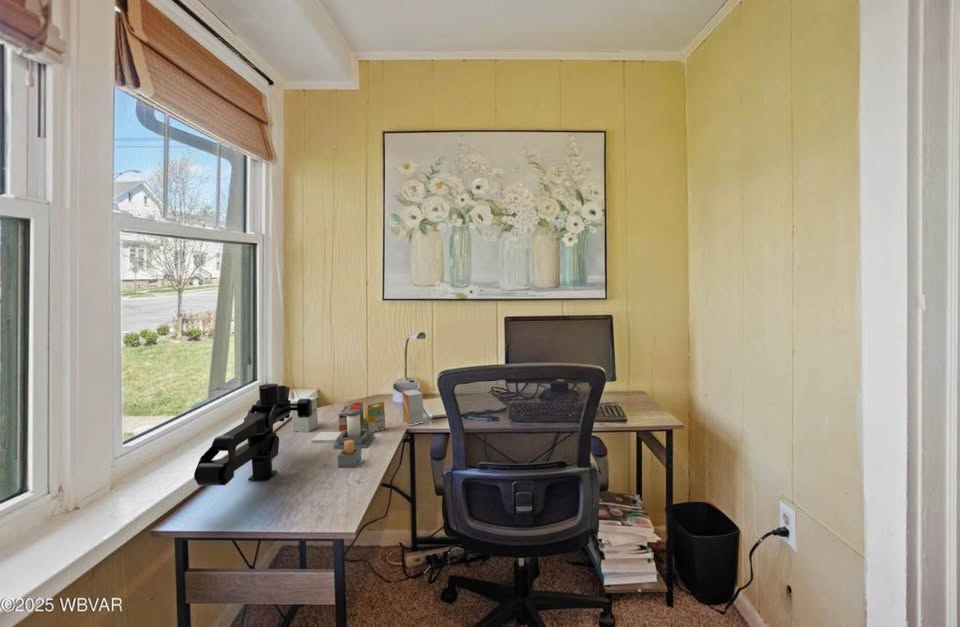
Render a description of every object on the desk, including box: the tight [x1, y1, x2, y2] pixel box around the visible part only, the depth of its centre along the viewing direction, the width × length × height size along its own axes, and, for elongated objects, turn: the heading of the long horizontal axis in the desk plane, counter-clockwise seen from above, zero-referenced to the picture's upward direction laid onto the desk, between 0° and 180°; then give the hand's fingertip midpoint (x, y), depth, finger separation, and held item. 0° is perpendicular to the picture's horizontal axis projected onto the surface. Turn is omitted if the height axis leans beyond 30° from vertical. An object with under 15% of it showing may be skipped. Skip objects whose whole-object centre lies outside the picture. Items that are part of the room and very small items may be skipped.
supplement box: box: [291, 396, 319, 433], centre depth 194 cm, size 7×7×13 cm
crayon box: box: [364, 401, 386, 434], centre depth 189 cm, size 7×3×12 cm, turn 126°
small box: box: [401, 389, 425, 425], centre depth 199 cm, size 8×6×13 cm
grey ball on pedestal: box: [346, 409, 362, 438], centre depth 176 cm, size 5×5×12 cm
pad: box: [310, 431, 343, 444], centre depth 182 cm, size 9×9×1 cm
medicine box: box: [337, 401, 364, 432], centre depth 198 cm, size 15×8×8 cm, turn 7°
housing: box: [332, 429, 375, 450], centre depth 177 cm, size 12×12×3 cm
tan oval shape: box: [343, 440, 355, 454], centre depth 157 cm, size 3×3×5 cm
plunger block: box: [337, 448, 362, 468], centre depth 157 cm, size 6×6×4 cm
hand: (294, 402), depth 172 cm, fingers open, 9 cm apart
